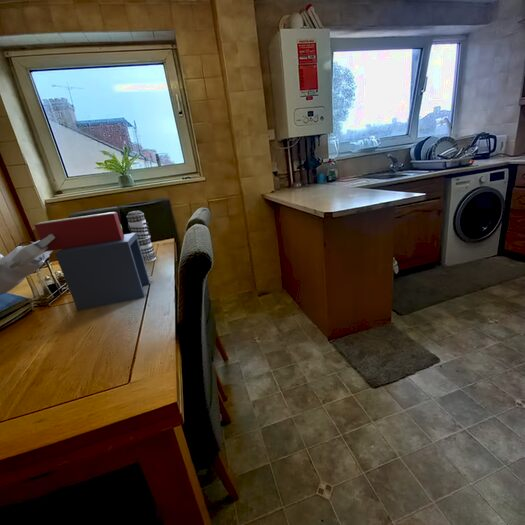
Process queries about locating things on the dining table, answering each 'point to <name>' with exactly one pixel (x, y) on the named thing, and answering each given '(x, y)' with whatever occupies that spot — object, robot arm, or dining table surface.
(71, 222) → the book
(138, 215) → the leaning tower model
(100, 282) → the shelf
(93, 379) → the dining table surface
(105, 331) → the dining table surface
